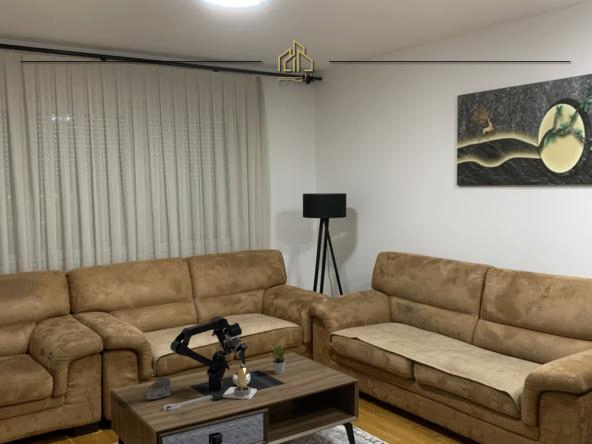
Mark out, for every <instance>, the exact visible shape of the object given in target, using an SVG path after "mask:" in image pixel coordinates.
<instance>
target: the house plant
mask: <svg viewBox="0 0 592 444" xmlns="http://www.w3.org/2000/svg"><path fill="white" fill-rule="evenodd" d="M268 346H269V347H271V349H269V351H271V352H269V355H268V357H269V356H270V357H271V358H270V360H272V365H273V371H274V373H275V374H276V375H278V374H279V375H282V374H284V373H285V368H286V361H287V360H285V359H286V358H285V356H286V355H288V354H289V352H286V351H287V350H289V349H288V348H289V347H288V348H286V349H285V350H284V348H285V346H284V344H282V343H280V342H277V345H276V346H275V348H274V347H273V346H272V345H269V344H268ZM272 353H273V354H272Z"/></svg>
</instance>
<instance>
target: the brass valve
mask: <svg viewBox="0 0 592 444" xmlns="http://www.w3.org/2000/svg"><path fill="white" fill-rule="evenodd" d="M236 371H237V373H236V375H237V387H238V391H246V390H247V386H248V385H247V367H246V366H244V364H240V365H239V366H238V367H236Z"/></svg>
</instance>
